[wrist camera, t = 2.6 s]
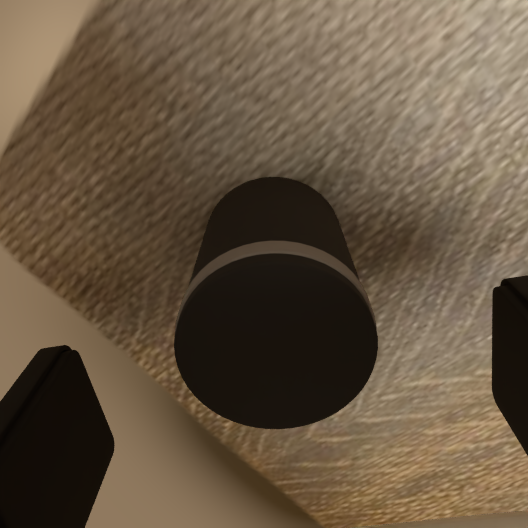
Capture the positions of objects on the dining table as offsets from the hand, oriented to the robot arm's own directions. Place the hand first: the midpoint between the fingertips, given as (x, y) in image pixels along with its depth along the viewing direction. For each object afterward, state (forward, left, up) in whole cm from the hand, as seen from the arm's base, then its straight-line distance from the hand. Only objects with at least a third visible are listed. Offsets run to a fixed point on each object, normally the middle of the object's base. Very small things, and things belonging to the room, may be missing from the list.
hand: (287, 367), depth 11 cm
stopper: (-1, 0, -6) cm, 6 cm away
